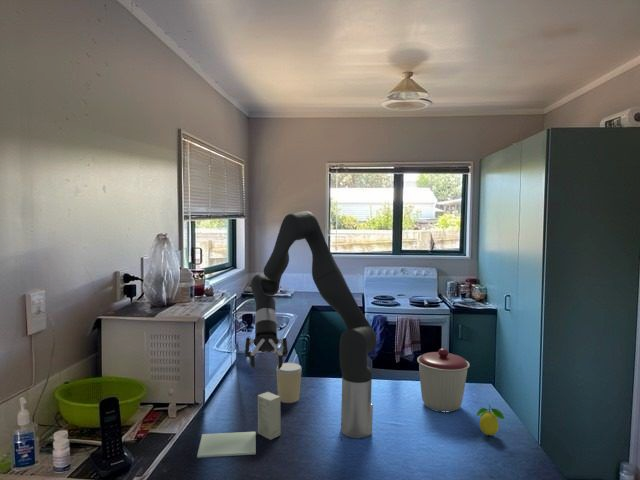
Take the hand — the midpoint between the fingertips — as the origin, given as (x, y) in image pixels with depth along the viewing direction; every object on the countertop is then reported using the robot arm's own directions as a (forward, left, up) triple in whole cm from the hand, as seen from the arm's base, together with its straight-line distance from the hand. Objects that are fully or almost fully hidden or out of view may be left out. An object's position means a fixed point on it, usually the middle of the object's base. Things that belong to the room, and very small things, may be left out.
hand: (266, 368), depth 145 cm
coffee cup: (-9, -15, -17) cm, 24 cm away
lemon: (-69, +19, -17) cm, 73 cm away
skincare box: (-1, +11, -17) cm, 20 cm away
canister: (-63, -3, -17) cm, 65 cm away
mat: (+11, +16, -17) cm, 26 cm away
